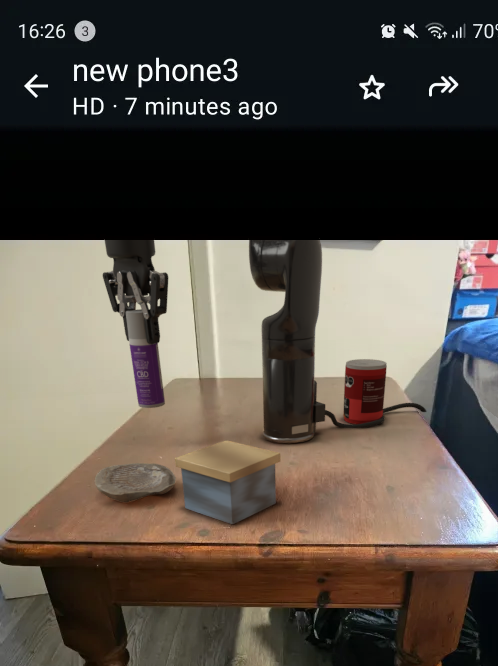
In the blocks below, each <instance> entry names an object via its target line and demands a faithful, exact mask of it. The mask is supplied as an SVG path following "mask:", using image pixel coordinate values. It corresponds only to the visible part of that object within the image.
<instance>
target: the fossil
mask: <svg viewBox="0 0 498 666" xmlns="http://www.w3.org/2000/svg"><path fill="white" fill-rule="evenodd" d="M176 480H177V477H176V475H175V473H174V472H173V471H172V470H171V469H170V468H169V467H167V466H166V465H163V464H159V463H154V462H153V463H148V462H147V463H144V462H140V463H139V462H133V463H125V464H117V465H111V466H106V467H103V468H102V469H100V470H99V472H97V473H96V475H95V476H94V484H95V488H97V490H98V492H99V493H101V494H102V495H103V496H106V497H107V498H109V499H112V500H114V501H116V502H119V503H124V504H127V503H130V502H133V501H137V500H139V499H142V498H144V497H145V498H146V497H148V496H152V495H153V496H154V495H163V494H166V493H168V492H170V491H171V490H172V489H173V487H174V486H175V484H176Z"/></svg>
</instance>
